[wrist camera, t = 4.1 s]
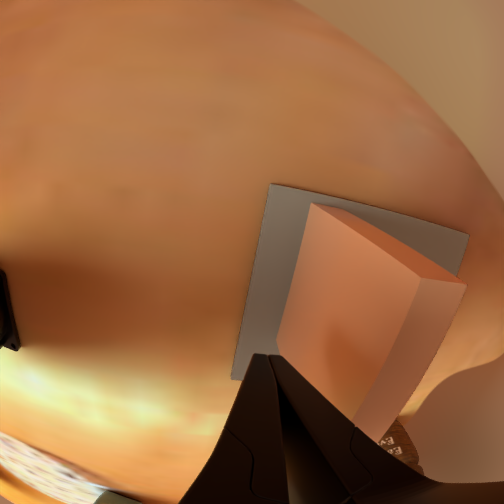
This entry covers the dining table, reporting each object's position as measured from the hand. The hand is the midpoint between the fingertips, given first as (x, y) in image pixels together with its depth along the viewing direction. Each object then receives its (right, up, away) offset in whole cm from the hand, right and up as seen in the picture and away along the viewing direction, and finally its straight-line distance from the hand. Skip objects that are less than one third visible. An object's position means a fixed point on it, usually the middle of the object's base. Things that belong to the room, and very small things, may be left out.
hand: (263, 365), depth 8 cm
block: (+3, +2, +7) cm, 8 cm away
